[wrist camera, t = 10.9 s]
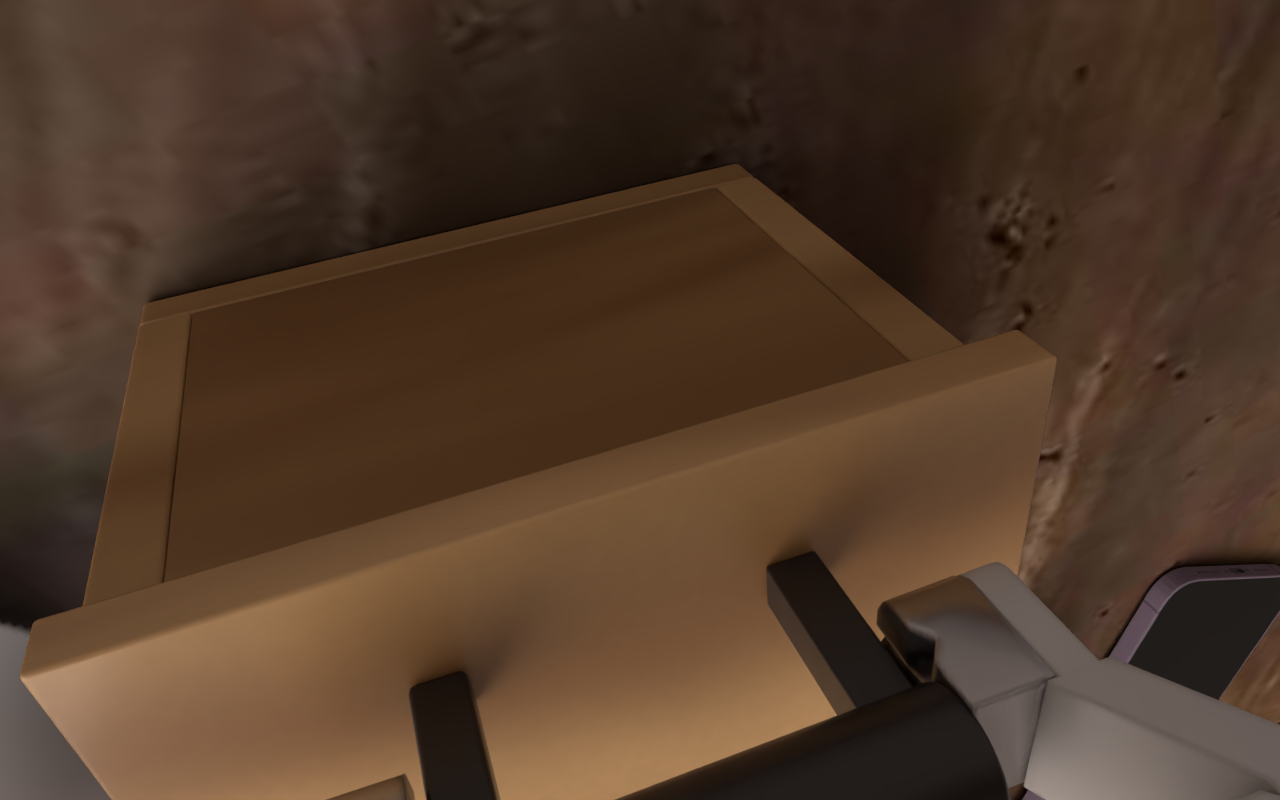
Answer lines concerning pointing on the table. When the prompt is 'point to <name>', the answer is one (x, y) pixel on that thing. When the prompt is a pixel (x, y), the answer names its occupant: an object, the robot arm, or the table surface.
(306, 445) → the chest
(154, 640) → the chest lid
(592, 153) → the table surface
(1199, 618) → the smartphone
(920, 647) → the robot arm
